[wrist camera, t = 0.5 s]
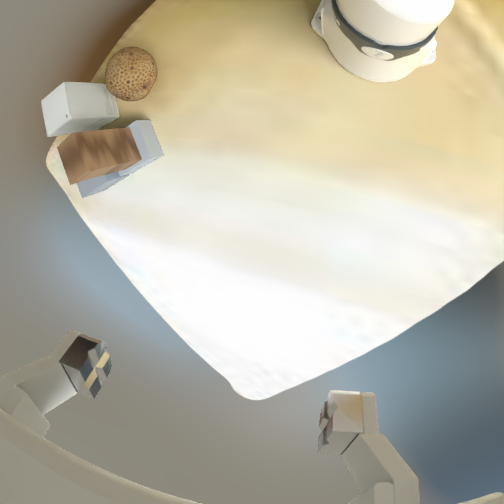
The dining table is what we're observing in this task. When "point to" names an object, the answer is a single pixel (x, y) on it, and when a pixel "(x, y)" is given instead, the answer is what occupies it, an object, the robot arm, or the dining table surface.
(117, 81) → the natural sponge
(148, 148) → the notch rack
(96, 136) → the frame block
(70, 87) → the supplement box
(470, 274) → the dining table surface
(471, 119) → the dining table surface
